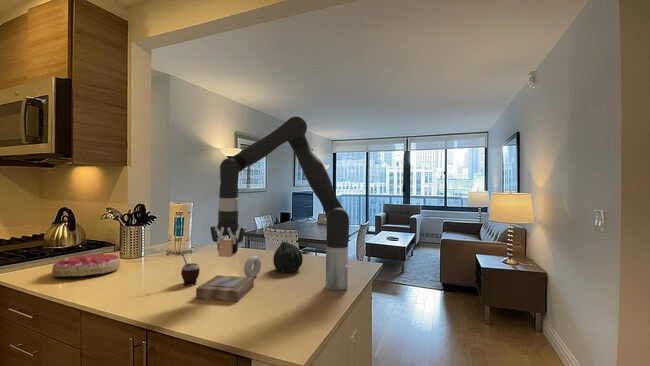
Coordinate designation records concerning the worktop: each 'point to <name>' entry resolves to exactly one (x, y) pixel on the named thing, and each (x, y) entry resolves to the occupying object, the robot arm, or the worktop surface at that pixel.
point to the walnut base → (225, 288)
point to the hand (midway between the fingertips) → (227, 252)
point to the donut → (248, 266)
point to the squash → (287, 258)
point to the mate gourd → (189, 272)
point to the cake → (86, 265)
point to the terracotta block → (225, 248)
